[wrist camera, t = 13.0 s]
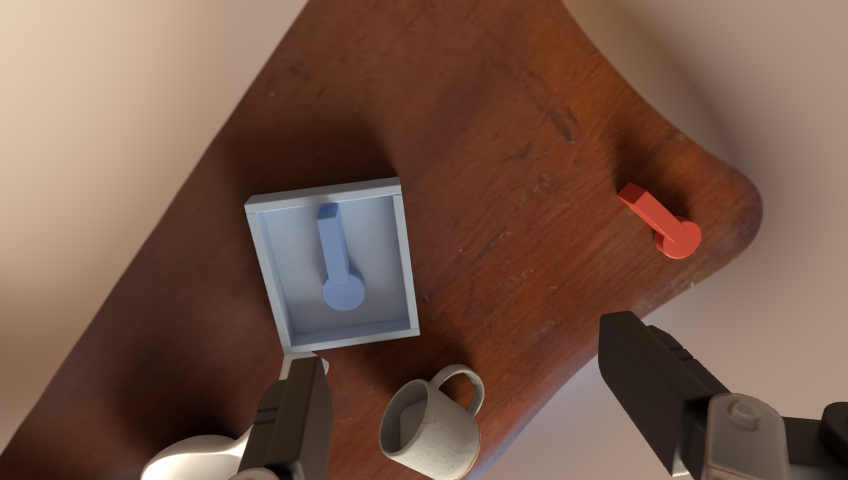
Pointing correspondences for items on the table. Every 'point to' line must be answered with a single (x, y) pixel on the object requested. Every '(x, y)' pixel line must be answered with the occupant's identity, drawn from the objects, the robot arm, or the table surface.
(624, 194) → the red disc with bar
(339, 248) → the blue spoon
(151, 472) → the spoon rest
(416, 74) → the table surface
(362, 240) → the blue tray
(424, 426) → the ceramic mug
